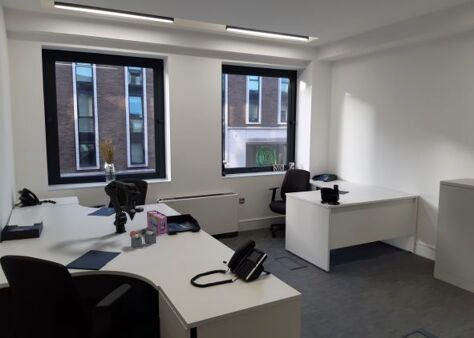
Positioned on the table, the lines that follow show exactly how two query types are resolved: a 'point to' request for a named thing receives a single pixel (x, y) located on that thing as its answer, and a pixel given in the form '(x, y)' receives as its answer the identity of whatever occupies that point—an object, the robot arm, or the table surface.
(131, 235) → the copper plunger
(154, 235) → the grey u-shaped block
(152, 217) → the gum box
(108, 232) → the table surface
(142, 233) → the black plunger
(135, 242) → the bed
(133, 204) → the robot arm
